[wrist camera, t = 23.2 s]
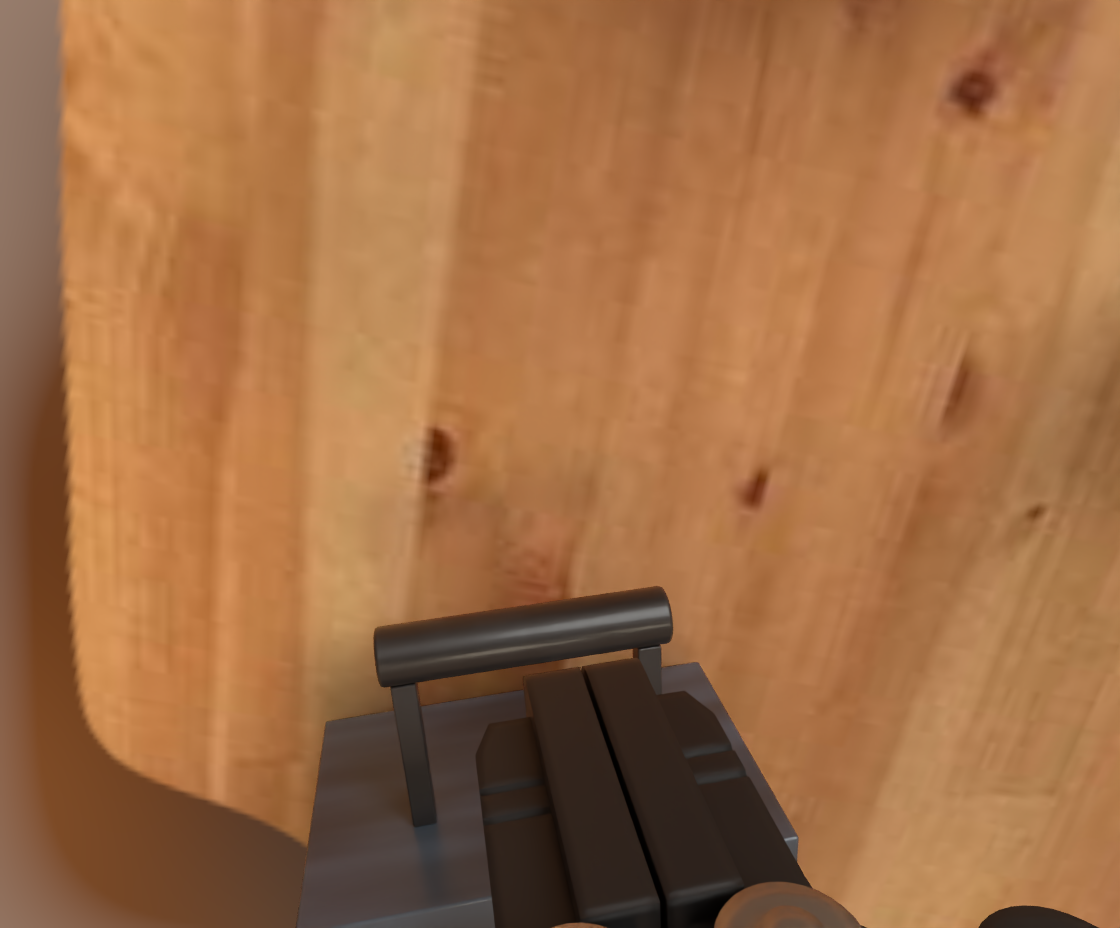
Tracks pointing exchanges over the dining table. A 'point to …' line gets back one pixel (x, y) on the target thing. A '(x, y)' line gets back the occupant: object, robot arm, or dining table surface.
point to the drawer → (459, 758)
